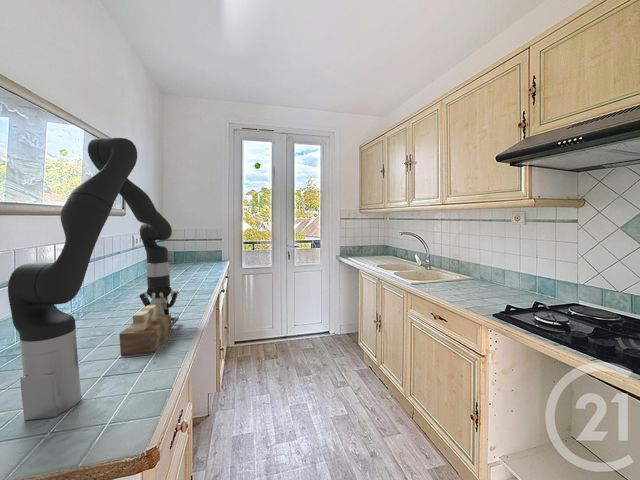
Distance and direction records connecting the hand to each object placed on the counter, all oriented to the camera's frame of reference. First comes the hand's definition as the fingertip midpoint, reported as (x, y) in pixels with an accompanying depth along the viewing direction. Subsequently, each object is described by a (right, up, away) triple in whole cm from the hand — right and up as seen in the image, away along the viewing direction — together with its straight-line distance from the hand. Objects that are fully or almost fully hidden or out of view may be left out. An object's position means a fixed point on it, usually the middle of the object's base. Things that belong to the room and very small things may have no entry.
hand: (160, 318), depth 112 cm
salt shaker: (0, -5, 0) cm, 5 cm away
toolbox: (+2, -6, -12) cm, 14 cm away
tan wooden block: (+1, -3, -7) cm, 8 cm away
